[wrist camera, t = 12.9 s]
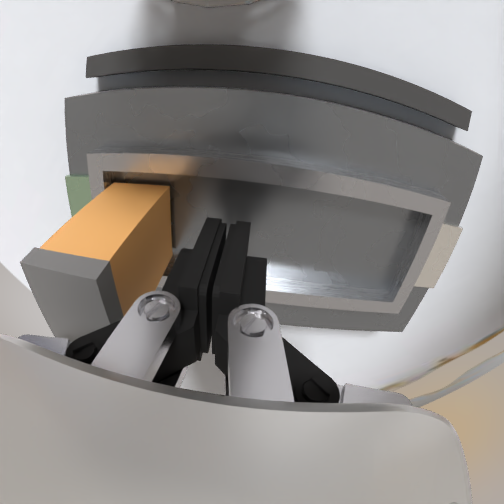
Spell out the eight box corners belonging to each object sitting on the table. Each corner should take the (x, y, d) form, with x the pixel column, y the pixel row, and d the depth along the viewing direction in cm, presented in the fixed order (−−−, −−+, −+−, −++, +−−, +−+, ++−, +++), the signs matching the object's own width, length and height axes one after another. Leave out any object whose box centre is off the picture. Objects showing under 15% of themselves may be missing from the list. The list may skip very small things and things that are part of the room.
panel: (94, 92, 12) (48, 102, 9) (454, 141, 12) (497, 163, 9) (112, 266, 19) (87, 304, 15) (392, 301, 19) (408, 343, 15)
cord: (99, 57, 11) (86, 57, 10) (459, 107, 11) (471, 111, 10) (97, 76, 11) (85, 77, 10) (455, 126, 11) (467, 131, 10)
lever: (111, 180, 11) (20, 262, 6) (172, 183, 11) (95, 279, 6) (121, 249, 14) (58, 344, 8) (174, 257, 14) (126, 365, 8)
